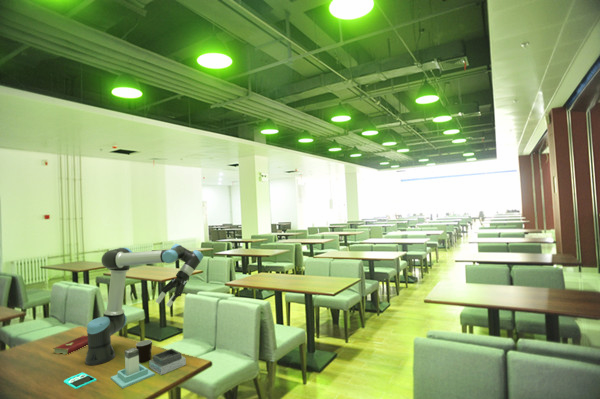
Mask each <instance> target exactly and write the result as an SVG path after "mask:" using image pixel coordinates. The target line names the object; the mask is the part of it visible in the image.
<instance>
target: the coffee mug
mask: <svg viewBox="0 0 600 399" xmlns="http://www.w3.org/2000/svg"><path fill="white" fill-rule="evenodd" d="M152 345H153V340H151V339H145V340H141V341H138V342H136V343H135V348H136V349H138V354H139V364H143V363H149V360H152V350H153V349H152V347H153V346H152Z"/></svg>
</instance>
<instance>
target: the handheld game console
mask: <svg viewBox="0 0 600 399" xmlns="http://www.w3.org/2000/svg"><path fill="white" fill-rule="evenodd" d="M96 381H97V378H95V377H93V376H92V375H89V374H87V373H85V372H80V373H78V374H75V375H72V376H70V377H68V378H66V379H64V380H63V383H64V384H66V385H68V386H69V387H71V388H73V389H74V390H78V389H80V388H82V387H85V386H87V385H90V384H92V383H94V382H96Z"/></svg>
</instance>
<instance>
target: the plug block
mask: <svg viewBox="0 0 600 399" xmlns="http://www.w3.org/2000/svg"><path fill="white" fill-rule="evenodd" d="M124 362H125V363H124V365H125V366H124V367H125V368H124V369H126V376H129V375H132V374H134V373H137V372H139V364H140V362H139V354H138V349H136V346H135V347H131V348H128V349H126V350H124Z"/></svg>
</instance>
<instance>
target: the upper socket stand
mask: <svg viewBox="0 0 600 399" xmlns="http://www.w3.org/2000/svg"><path fill="white" fill-rule="evenodd" d="M148 363H149V364H148V365H149V366H148V369H150V370H151V371H153V372H154V373H157V374H159V375H161V376H162V375H165V374H167V373H170V372H173V371H175V370H177V369H179V368H182V367H184V366H187V361H186V356H183V355H182V352H180V351H178V350H176V349H173V348H169V349H166V350H164V351H161V352H159V353H156V354H153V355H152V358H151V360H149V361H148Z"/></svg>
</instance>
